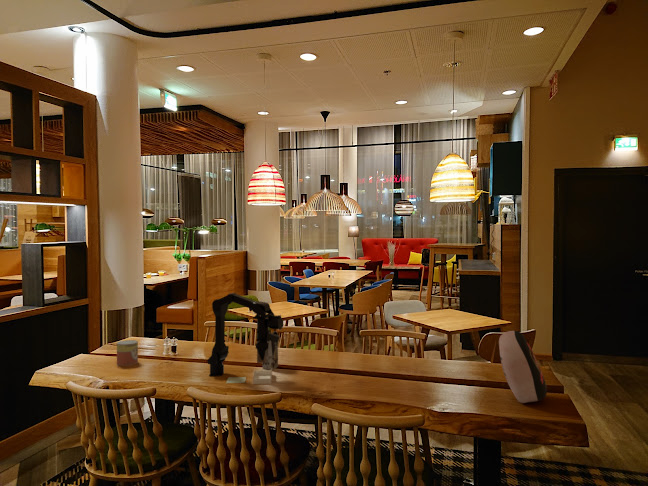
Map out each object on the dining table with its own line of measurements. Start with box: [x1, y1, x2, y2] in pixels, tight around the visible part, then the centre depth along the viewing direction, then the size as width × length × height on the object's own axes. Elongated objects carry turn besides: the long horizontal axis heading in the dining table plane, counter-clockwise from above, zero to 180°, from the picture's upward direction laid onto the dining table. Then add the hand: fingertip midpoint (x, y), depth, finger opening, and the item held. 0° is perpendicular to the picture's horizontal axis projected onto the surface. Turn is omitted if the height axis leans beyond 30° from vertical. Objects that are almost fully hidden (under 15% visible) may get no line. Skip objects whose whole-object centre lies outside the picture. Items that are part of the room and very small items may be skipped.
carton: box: [252, 368, 273, 385], centre depth 235 cm, size 9×15×4 cm, turn 5°
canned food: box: [116, 339, 139, 367], centre depth 268 cm, size 11×11×12 cm
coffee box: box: [262, 340, 279, 371], centre depth 258 cm, size 9×6×16 cm
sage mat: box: [225, 376, 247, 384], centre depth 233 cm, size 9×9×1 cm
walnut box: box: [256, 348, 268, 364], centre depth 235 cm, size 6×4×6 cm
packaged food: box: [498, 330, 548, 404], centre depth 206 cm, size 22×20×30 cm
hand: (262, 358), depth 235 cm, fingers closed on walnut box, 4 cm apart
